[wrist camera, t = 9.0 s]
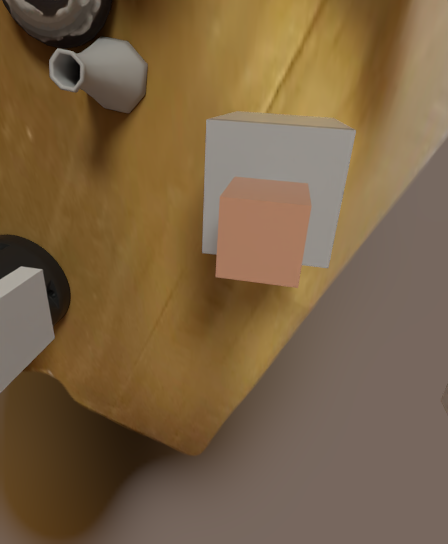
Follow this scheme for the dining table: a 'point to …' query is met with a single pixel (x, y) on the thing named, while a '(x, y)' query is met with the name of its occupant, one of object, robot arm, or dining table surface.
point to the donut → (60, 19)
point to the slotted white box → (280, 168)
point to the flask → (103, 73)
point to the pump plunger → (262, 231)
